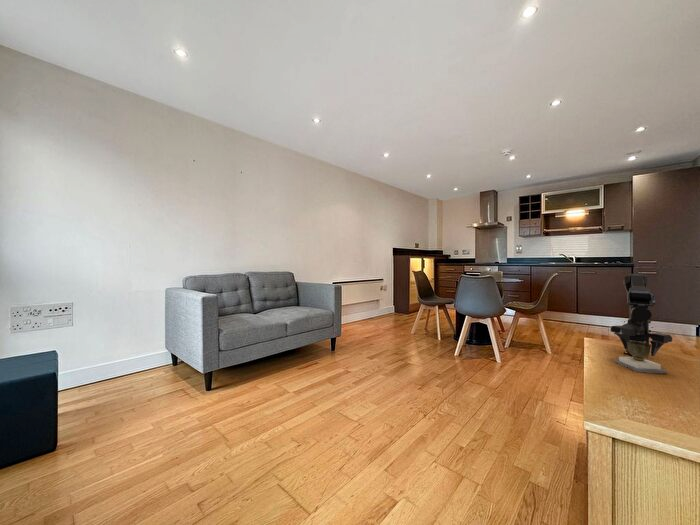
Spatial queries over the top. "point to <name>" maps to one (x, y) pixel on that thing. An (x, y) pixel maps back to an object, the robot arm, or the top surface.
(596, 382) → the top surface
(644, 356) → the cup
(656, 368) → the stand
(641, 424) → the top surface
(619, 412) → the top surface
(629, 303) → the robot arm
